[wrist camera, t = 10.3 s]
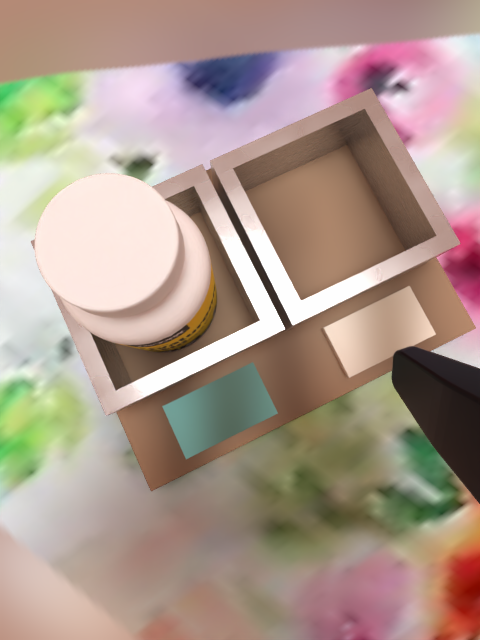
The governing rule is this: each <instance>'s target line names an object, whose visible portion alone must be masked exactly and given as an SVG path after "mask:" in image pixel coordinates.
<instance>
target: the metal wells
mask: <svg viewBox="0 0 480 640" xmlns="http://www.w3.org/2000/svg"><path fill="white" fill-rule="evenodd" d="M345 145H347V146H348V147H349V149H350V151H351V153H352V155H353V156H354V158H355V160H356V162H357V164H358V166H359V167H360V169H361V171H362V173H363V175H364V176H365V178H366V180H367V182H368V184H369V185H370V187H371V189H372V191H373V193H374V194H375V196H376V198H377V200H378V202H379V203H380V205H381V207H382V209H383V211H384V212H385V214H386V216H387V218H388V220H389V221H390V223H391V225H392V227H393V229H394V230H395V232H396V234H397V236H398V238H399V240H400V241H401V243H402V245H403V247H404V249H405V250H406V251H404V252H402V253H400V254H398V255H396V256H394V257H392V258H390V259H388V260H386V261H383V262H381V263H379V264H377V265H375V266H373V267H371V268H369V269H367V270H365V271H363V272H361V273H359V274H356V275H354V276H352V277H350V278H348V279H346V280H344V281H342V282H340V283H338V284H336V285H334V286H332V287H329V288H327V289H325V290H323V291H321V292H319V293H317V294H315V295H313V296H311V297H309V298H307V299H305V300H302V301H300V299H299V297H298V295H297V293H296V291H295V289H294V287H293V285H292V283H291V281H290V279H289V277H288V275H287V273H286V271H285V269H284V267H283V265H282V263H281V261H280V260H279V258H278V256H277V254H276V252H275V250H274V248H273V246H272V244H271V242H270V240H269V238H268V236H267V234H266V232H265V230H264V228H263V226H262V224H261V222H260V220H259V218H258V216H257V215H256V213H255V211H254V209H253V207H252V205H251V203H250V201H249V199H248V197H247V195H246V193H245V191H247V190H249V189H252V188H254V187H256V186H258V185H260V184H262V183H265V182H267V181H269V180H271V179H273V178H276V177H278V176H280V175H282V174H284V173H286V172H289V171H291V170H293V169H295V168H297V167H300V166H302V165H304V164H306V163H308V162H311V161H313V160H315V159H317V158H319V157H321V156H324V155H326V154H328V153H330V152H332V151H335V150H337V149H339V148H341V147H343V146H345ZM210 164H211V172H212V179H213V185H212V183H211V181H210V179H209V177H208V175H207V173H206V171H205V169H204V167H203V165H199V166H197V167H195V168H193V169H191V170H188V171H186V172H184V173H182V174H179V175H177V176H175V177H173V178H171V179H168V180H166V181H164V182H162V183H159V184H157V185H155V186H153V187H152V188H154V189H155V190H156V191H157V192H158V193H159V194H160V195H161V196H162V197H163V198H164V199H165V200H166V201H168V202H170V203H172V204H174V205H175V206H177V207H178V208H179V209H181V210H182V211H183V212H184V213H186V214H187V215H188V216H189V217H190V216H193V215H195V214H197V213H199V212H200V213H201V215H202V217H203V219H204V221H205V223H206V225H207V227H208V229H209V231H210V233H211V235H212V237H213V239H214V241H215V243H216V245H217V247H218V249H219V251H220V253H221V255H222V257H223V259H224V261H225V263H226V265H227V267H228V269H229V271H230V273H231V276H232V278H233V280H234V282H235V284H236V286H237V288H238V290H239V292H240V294H241V296H242V298H243V300H244V302H245V304H246V306H247V308H248V310H249V312H250V314H251V316H252V318H253V320H254V322H255V324H253V325H251V326H249V327H246V328H244V329H242V330H240V331H238V332H236V333H234V334H232V335H230V336H228V337H226V338H224V339H222V340H219V341H217V342H215V343H213V344H211V345H209V346H207V347H205V348H203V349H201V350H199V351H197V352H195V353H192V354H190V355H188V356H186V357H184V358H182V359H180V360H178V361H176V362H174V363H172V364H170V365H168V366H166V367H163V368H161V369H159V370H157V371H155V372H153V373H151V374H149V375H147V376H145V377H143V378H141V379H139V380H136V381H134V382H132V381H131V379H130V377H129V375H128V372H127V370H126V368H125V366H124V363H123V361H122V359H121V357H120V354H119V352H118V350H117V348H116V345H115V343H113V342H110V341H107V340H104V339H102V338H100V337H98V336H96V335H94V334H92V333H91V332H89V331H88V330H86V329H85V328H84V327H83V326H81V325H80V324H79V323H78V322H77V321H76V320H75V319H74V318H73V317H72V316H71V315H70V313H69V312H68V311H67V309H66V308H65V306H64V304H63V302H62V300H61V298H60V297H59V296H58V295H57V294H56V293H55V292H54V291H53V290H52V289H51V290H52V292H53V294H54V297H55V299H56V301H57V303H58V306H59V308H60V310H61V313H62V315H63V317H64V320H65V322H66V324H67V327H68V329H69V331H70V334H71V336H72V338H73V340H74V343H75V345H76V347H77V350H78V352H79V354H80V357H81V359H82V361H83V364H84V366H85V368H86V371H87V373H88V375H89V378H90V380H91V382H92V384H93V387H94V389H95V391H96V394H97V396H98V398H99V401H100V403H101V405H102V408H103V410H104V412H105V415H106V416H107V415H110V414H112V413H115V412H118V411H121V410H124V409H126V408H128V407H130V406H133V405H135V404H137V403H139V402H141V401H143V400H145V399H147V398H149V397H151V396H153V395H155V394H157V393H159V392H161V391H163V390H165V389H168V388H170V387H172V386H174V385H176V384H178V383H180V382H182V381H184V380H186V379H188V378H190V377H192V376H194V375H196V374H198V373H200V372H203V371H205V370H207V369H209V368H211V367H213V366H215V365H217V364H219V363H221V362H223V361H225V360H227V359H229V358H231V357H233V356H235V355H238V354H240V353H242V352H244V351H246V350H248V349H250V348H252V347H254V346H256V345H258V344H260V343H262V342H264V341H266V340H268V339H270V338H273V337H275V336H277V335H278V334H280V333H281V332H282V331H283V330H284V331H287V330H289V329H291V328H293V327H295V326H297V325H299V324H301V323H303V322H305V321H308V320H310V319H312V318H314V317H316V316H318V315H320V314H322V313H324V312H326V311H328V310H330V309H332V308H334V307H336V306H338V305H340V304H343V303H345V302H347V301H349V300H351V299H353V298H355V297H357V296H359V295H361V294H363V293H365V292H367V291H369V290H371V289H373V288H375V287H378V286H380V285H382V284H384V283H386V282H388V281H390V280H392V279H394V278H396V277H398V276H400V275H402V274H404V273H406V272H408V271H410V270H412V269H415V268H417V267H419V266H421V265H423V264H425V263H427V262H429V261H431V260H432V259H434V258H436V257H438V256H440V255H441V254H443V253H445V252H447V251H448V250H450V249H452V248H454V247H456V246H457V245H459V244H461V243H460V242H459V240H458V238H457V236H456V235H455V233H454V231H453V229H452V228H451V226H450V224H449V222H448V221H447V219H446V217H445V216H444V214H443V212H442V210H441V209H440V207H439V205H438V203H437V202H436V200H435V198H434V196H433V195H432V193H431V191H430V189H429V188H428V186H427V184H426V182H425V181H424V179H423V177H422V175H421V174H420V172H419V170H418V168H417V167H416V165H415V163H414V161H413V160H412V158H411V156H410V154H409V153H408V151H407V149H406V147H405V146H404V144H403V142H402V140H401V139H400V137H399V135H398V134H397V132H396V130H395V128H394V127H393V125H392V123H391V121H390V120H389V118H388V116H387V114H386V113H385V111H384V109H383V107H382V106H381V104H380V102H379V100H378V99H377V97H376V95H375V93H374V92H373V90H372V88H371V89H369V90H366V91H364V92H362V93H360V94H357V95H355V96H353V97H351V98H349V99H346V100H344V101H342V102H340V103H337V104H335V105H333V106H331V107H329V108H326V109H324V110H322V111H320V112H317V113H315V114H313V115H311V116H308V117H306V118H304V119H302V120H300V121H297V122H295V123H293V124H291V125H288V126H286V127H284V128H282V129H280V130H277V131H275V132H273V133H271V134H268V135H266V136H264V137H262V138H260V139H257V140H255V141H253V142H251V143H248V144H246V145H244V146H242V147H240V148H237V149H235V150H233V151H231V152H228V153H226V154H224V155H222V156H219V157H217V158H215V159H213V160H211V161H210ZM31 243H32V246H33V248H34V250H35V240H33V241H31Z"/></svg>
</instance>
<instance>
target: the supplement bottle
mask: <svg viewBox="0 0 480 640" xmlns="http://www.w3.org/2000/svg"><path fill="white" fill-rule="evenodd" d="M35 257H36V261H37V264H38V267H39V270H40V272H41V274H42V276H43V278H44V279H45V281H46V283H47V284H48V285H49V287H50V288H51V289H52V290H53V291H54V292H55V293H56V294H57V295H58V296H59V297H60V298H61V300H62V302H63V304H64V306H65V308H66V309H67V311H68V312H69V313H70V315H71V316H72V317H73V318H74V319H75V320H76V321H77V322H78V323H79V324H80V325H81V326H83V327H84V328H85V329H86V330H88V331H89V332H91V333H92V334H94V335H96V336H98V337H100V338H102V339H104V340H107V341H110V342H113V343H116V344H120V345H125V346H129V347H134V348H138V349H143V350H147V351H152V352H172V351H177V350H180V349H183V348H186V347H188V346H190V345H191V344H193V343H194V342H196V341H197V340H198V339H200V338H201V337H202V336H203V335H204V334H205V332H206V331H207V330H208V328H209V327H210V325H211V323H212V321H213V319H214V316H215V312H216V308H217V290H216V285H215V279H214V274H213V269H212V265H211V259H210V254H209V251H208V248H207V245H206V242H205V240H204V237H203V235H202V233H201V232H200V230H199V228H198V227H197V225H196V224H195V223H194V222H193V220H192V219H191V218H190V217H189V216H188V215H187V214H186V213H184V212H183V211H182V210H181V209H179V208H178V207H177V206H175V205H174V204H172V203H170V202H168V201H166V200H165V199H164V198H163V197H162V196H161V195H160V194H159V193H158V192H157V191H156V190H155V189H154V188H152V187H151V186H149V185H148V184H146V183H145V182H143V181H141V180H139V179H136V178H133V177H130V176H126V175H121V174H115V173H105V174H96V175H91V176H88V177H85V178H82V179H79V180H77V181H75V182H73V183H71V184H70V185H68V186H67V187H65V188H64V189H63V190H61V191H60V192H59V193H58V194H57V195H56V196H55V197H54V198H53V199H52V200H51V201H50V202H49V204H48V205H47V206H46V208H45V210H44V211H43V213H42V215H41V217H40V220H39V223H38V226H37V229H36V234H35Z"/></svg>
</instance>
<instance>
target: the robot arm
mask: <svg viewBox="0 0 480 640" xmlns="http://www.w3.org/2000/svg"><path fill="white" fill-rule="evenodd" d="M392 383H393V385H394V388H395V389H396V391H397V392H398V394H399V395H400V397H401V399H402V400H403V402H404V403H405V405H406V406H407V408H408V409H409V411H410V412H411V414H412V415H413V417H414V418H415V420H416V421H417V423H418V424H419V426H420V428H421V429H422V431H423V432H424V434H425V435H426V437H427V438H428V440H429V441H430V442H431V444H432V445H433V447H434V448H435V449H436V450H437V452H438V453H439V454H440V456H441V457H442V458H443V459H444V461H445V462H446V463H447V464H448V465H449V467H450V468H451V469H452V470H453V472H454V473H455V474H456V475H457V476H458V478H459V479H460V480H461V481H462V483H463V484H464V485H465V486H466V488H467V489H468V490H469V491H470V492H471V494H472V495H473V496H474V497H475V499H476V500H477V501H478V502H479V504H480V368H477V367H474V366H471V365H468V364H465V363H462V362H459V361H456V360H453V359H450V358H448V357H445V356H442V355H439V354H436V353H433V352H430V351H427V350H424V349H421V348H418V347H415V346H408V347H406V348H403V349H400V350H397V351H395V353H394V355H393V365H392Z"/></svg>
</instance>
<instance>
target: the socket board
mask: <svg viewBox="0 0 480 640" xmlns="http://www.w3.org/2000/svg"><path fill="white" fill-rule="evenodd" d="M206 173H207V175H208V177H209V179H210V181H211V183H212V185H213V179H212V172H211V169H209V170H207V171H206ZM245 193H246V195H247V197H248V199H249V201H250V203H251V205H252V207H253V209H254V211H255V213H256V215H257V216H258V218H259V220H260V222H261V224H262V226H263V228H264V230H265V232H266V234H267V236H268V238H269V240H270V242H271V244H272V246H273V248H274V250H275V252H276V254H277V256H278V258H279V260H280V261H281V263H282V265H283V267H284V269H285V271H286V273H287V275H288V277H289V279H290V281H291V283H292V285H293V287H294V289H295V291H296V293H297V295H298V297H299V299H300V301H302V300H305V299H307V298H309V297H311V296H313V295H315V294H317V293H319V292H321V291H323V290H325V289H327V288H329V287H332V286H334V285H336V284H338V283H340V282H342V281H344V280H346V279H348V278H350V277H352V276H354V275H356V274H359V273H361V272H363V271H365V270H367V269H369V268H371V267H373V266H375V265H377V264H379V263H381V262H383V261H386V260H388V259H390V258H392V257H394V256H396V255H398V254H400V253H402V252H404V251H406V250H405V249H404V247H403V245H402V243H401V241H400V240H399V238H398V236H397V234H396V232H395V230H394V229H393V227H392V225H391V223H390V221H389V220H388V218H387V216H386V214H385V212H384V211H383V209H382V207H381V205H380V203H379V202H378V200H377V198H376V196H375V194H374V193H373V191H372V189H371V187H370V185H369V184H368V182H367V180H366V178H365V176H364V175H363V173H362V171H361V169H360V167H359V166H358V164H357V162H356V160H355V158H354V156H353V155H352V153H351V151H350V149H349V147H348V146H347V145H345V146H343V147H341V148H339V149H337V150H335V151H332V152H330V153H328V154H326V155H324V156H321V157H319V158H317V159H315V160H313V161H311V162H308V163H306V164H304V165H302V166H300V167H297V168H295V169H293V170H291V171H289V172H286V173H284V174H282V175H280V176H278V177H276V178H273V179H271V180H269V181H267V182H265V183H262V184H260V185H258V186H256V187H254V188H252V189H249V190H247V191H245ZM190 218H191V219H192V220H193V222H194V223H195V224H196V225H197V227H198V228H199V230H200V232H201V233H202V235H203V237H204V240H205V242H206V245H207V248H208V251H209V254H210V259H211V265H212V269H213V274H214V279H215V285H216V290H217V308H216V312H215V316H214V319H213V321H212V323H211V325H210V327H209V328H208V330H207V331H206V332H205V334H204V335H203V336H202V337H201V338H200V339H198V340H197V341H196V342H194V343H193V344H191V345H190V346H188V347H186V348H183V349H180V350H177V351H172V352H152V351H147V350H143V349H138V348H134V347H129V346H125V345H120V344H116V343H115V345H116V348H117V350H118V352H119V354H120V357H121V359H122V361H123V363H124V366H125V368H126V370H127V372H128V375H129V377H130V379H131V381H132V382H134V381H136V380H139V379H141V378H143V377H145V376H147V375H149V374H151V373H153V372H155V371H157V370H159V369H161V368H163V367H166V366H168V365H170V364H172V363H174V362H176V361H178V360H180V359H182V358H184V357H186V356H188V355H190V354H192V353H195V352H197V351H199V350H201V349H203V348H205V347H207V346H209V345H211V344H213V343H215V342H217V341H219V340H222V339H224V338H226V337H228V336H230V335H232V334H234V333H236V332H238V331H240V330H242V329H244V328H246V327H249V326H251V325H253V324H255V322H254V320H253V318H252V316H251V314H250V312H249V310H248V308H247V306H246V304H245V302H244V300H243V298H242V296H241V294H240V292H239V290H238V288H237V286H236V284H235V282H234V280H233V278H232V276H231V273H230V271H229V269H228V267H227V265H226V263H225V261H224V259H223V257H222V255H221V253H220V251H219V249H218V247H217V245H216V243H215V241H214V239H213V237H212V235H211V233H210V231H209V229H208V227H207V225H206V223H205V221H204V219H203V217H202V215H201V213H200V212H199V213H197V214H195V215H193V216H190ZM475 328H476V327H475V325H474V324H473V322H472V320H471V318H470V316H469V315H468V313H467V311H466V309H465V308H464V306H463V304H462V302H461V300H460V299H459V297H458V295H457V293H456V292H455V290H454V288H453V286H452V284H451V283H450V281H449V279H448V277H447V276H446V274H445V272H444V270H443V268H442V267H441V265H440V263H439V261H438V260H437V258H434V259H432V260H431V261H429V262H427V263H425V264H423V265H421V266H419V267H417V268H415V269H412V270H410V271H408V272H406V273H404V274H402V275H400V276H398V277H396V278H394V279H392V280H390V281H388V282H386V283H384V284H382V285H380V286H378V287H375V288H373V289H371V290H369V291H367V292H365V293H363V294H361V295H359V296H357V297H355V298H353V299H351V300H349V301H347V302H345V303H343V304H340V305H338V306H336V307H334V308H332V309H330V310H328V311H326V312H324V313H322V314H320V315H318V316H316V317H314V318H312V319H310V320H308V321H305V322H303V323H301V324H299V325H297V326H295V327H293V328H291V329H289V330H287V331H284V330H283V331H282V332H281V333H280V334H278V335H277V336H275V337H273V338H270V339H268V340H266V341H264V342H262V343H260V344H258V345H256V346H254V347H252V348H250V349H248V350H246V351H244V352H242V353H240V354H238V355H235V356H233V357H231V358H229V359H227V360H225V361H223V362H221V363H219V364H217V365H215V366H213V367H211V368H209V369H207V370H205V371H203V372H200V373H198V374H196V375H194V376H192V377H190V378H188V379H186V380H184V381H182V382H180V383H178V384H176V385H174V386H172V387H170V388H168V389H165V390H163V391H161V392H159V393H157V394H155V395H153V396H151V397H149V398H147V399H145V400H143V401H141V402H139V403H137V404H135V405H133V406H130V407H128V408H126V409H124V410H121V411H118V412H117V414H118V417H119V419H120V421H121V424H122V426H123V428H124V430H125V433H126V435H127V437H128V440H129V442H130V444H131V446H132V449H133V451H134V453H135V456H136V458H137V460H138V463H139V465H140V467H141V469H142V472H143V474H144V476H145V479H146V481H147V483H148V485H149V488H150V490H151V491H153V490H155V489H157V488H159V487H161V486H163V485H165V484H167V483H169V482H171V481H173V480H175V479H177V478H179V477H181V476H183V475H185V474H187V473H189V472H191V471H193V470H195V469H197V468H199V467H201V466H203V465H205V464H207V463H209V462H211V461H212V460H214V459H216V458H218V457H220V456H222V455H224V454H226V453H228V452H230V451H232V450H234V449H236V448H238V447H240V446H242V445H244V444H246V443H248V442H250V441H252V440H254V439H256V438H258V437H260V436H262V435H264V434H266V433H268V432H270V431H272V430H274V429H276V428H278V427H280V426H282V425H284V424H286V423H288V422H290V421H292V420H294V419H296V418H298V417H300V416H302V415H304V414H306V413H308V412H310V411H312V410H314V409H316V408H318V407H320V406H322V405H324V404H326V403H328V402H330V401H332V400H334V399H336V398H338V397H340V396H342V395H344V394H346V393H348V392H350V391H352V390H354V389H356V388H358V387H360V386H362V385H364V384H366V383H368V382H370V381H372V380H374V379H376V378H378V377H380V376H382V375H384V374H386V373H388V372H390V371H392V365H393V355H394V353H395V351H397V350H400V349H403V348H406V347H408V346H415V347H418V348H421V349H424V350H427V351H431V350H433V349H435V348H437V347H439V346H441V345H443V344H445V343H447V342H449V341H451V340H453V339H455V338H457V337H459V336H461V335H463V334H465V333H467V332H469V331H471V330H473V329H475Z"/></svg>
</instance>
